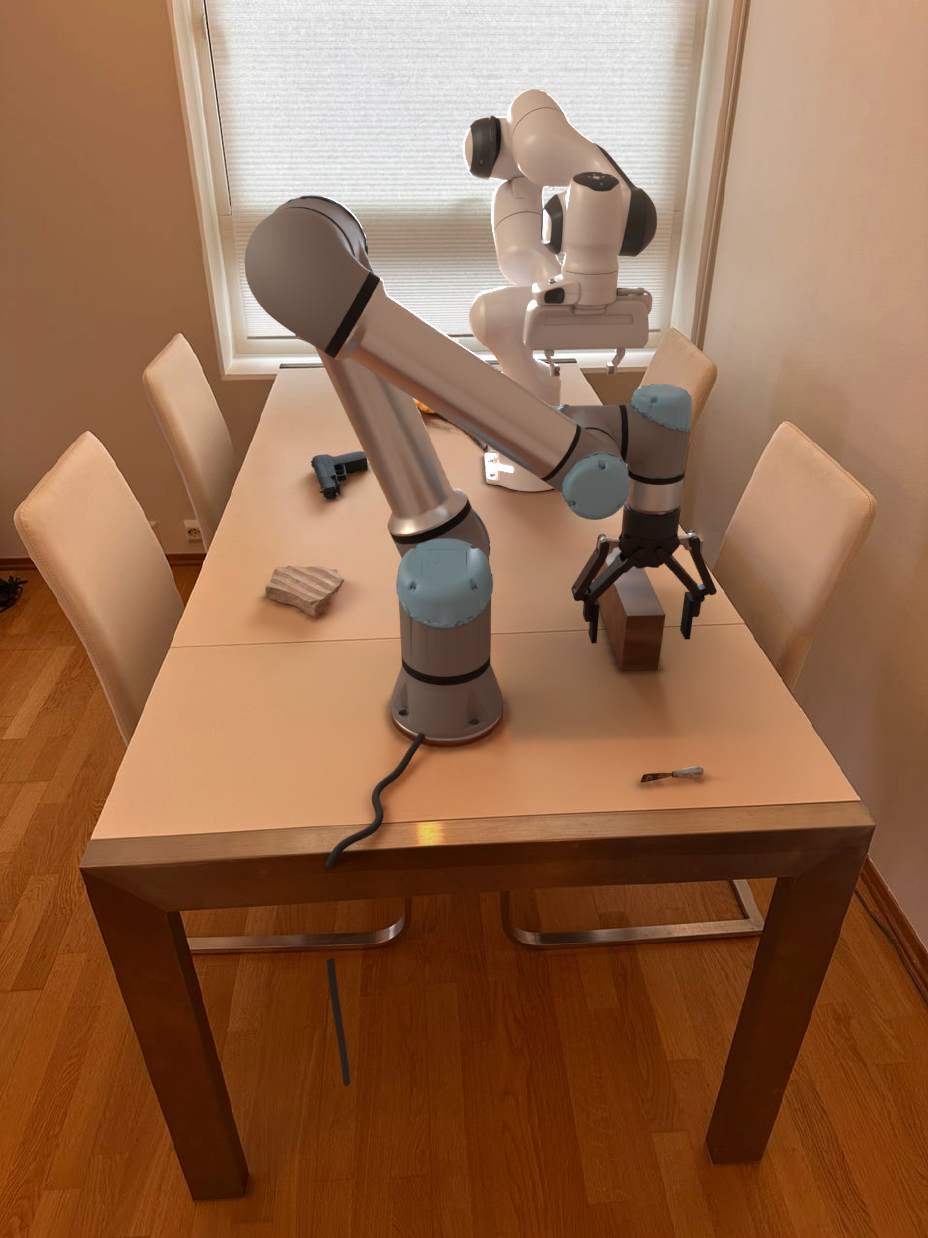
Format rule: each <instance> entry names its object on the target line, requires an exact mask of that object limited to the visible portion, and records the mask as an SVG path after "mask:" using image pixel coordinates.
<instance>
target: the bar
mask: <svg viewBox="0 0 928 1238" xmlns="http://www.w3.org/2000/svg"><path fill="white" fill-rule="evenodd" d="M620 552H621V551H620V549H619V548H615V549H614V550H613V551H612V553H611V554H608V556H607V558H606V561H605V562H604V564H603V566H602V567H601V569H600V570H599V572H598V574H597V575H596V577H595V578H594V580H595V579H596V578H597V577H598V576H599V575H600V574H601V573H602V572H603V571H604V570H605V569H606V568H607V567H608V566H609V565H610V564H611V563H612V562H613V561H614V560H615V557H616V556H617V555H618V554H619V553H620ZM626 560H627V559H626ZM626 560H625V561H626ZM594 580H593V581H594ZM651 582H652V581H650V578H649V576H648V574H647V572H646V570H645V568H639V569H637V568H636V567H634V566H633V567H632V568H631V569H630V570H629V571H628V572H627V573H623V574H622V575H621V576H620V577H619V578H618V579H617V580H616V581H615V582H614V583H613V584H612V585H611V586H610V587H609V588H608V589H607V590H606V591H605V592H604V593H603V594H602V595H601V596H600V597H599V598H598V602H599V605H600V607H599V612H600V613H601V616H602V619H603V622H604V625H605V628H606V631H607V634H608V637H609V639H610V642H611V645H612V648H613V651H614V654H615V656H616V660H617V662H618V666H619V668H620V671H621V672H629V671H631V672H632V671H658V670H659V666H660V660H661V659H660V658H661V652H662V645H663V635H664V630H665V621H666V613H665V611H664V608H663V607H662V604H661V602H660V600H659V598H658V596H657V594H656V591H655V590H654V589H655V588H654V587H653V585H652V583H651Z"/></svg>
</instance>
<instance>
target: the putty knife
mask: <svg viewBox="0 0 928 1238" xmlns="http://www.w3.org/2000/svg"><path fill="white" fill-rule="evenodd" d="M704 772H705V771H704V768H702V767H701V766H697V765H695V766H688V767H683V768H679V769H675V770H673V771H671V772H653V773H652V772H651V773H650V772H649V773H644V774H642V776H641V779H640V783H642V784H645V783H648V782H653V781H659V780H665V779H668V778H673V779H674V778H675V779H693V778H694V779H695V778H700V777H702V776H703V775H704Z"/></svg>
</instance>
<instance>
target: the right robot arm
mask: <svg viewBox="0 0 928 1238" xmlns="http://www.w3.org/2000/svg"><path fill="white" fill-rule="evenodd" d="M462 148H463V149H462V151H463V158H464V161H465V162H464V163H465V165H466V169H467V171H468V172H469V173H470V175H471V176H472V177H475V178H477V179H481V180H485V181H486V180H487V181H488V180H489V179H493V180H499V181H502V182H501V183H499V185H497V187H496V188H495V190H494V192H493V194H492V199H491V200H492V201H491V227H492V235H493V242H494V248H495V254H496V260H497V266H498V269H499V272H500V274H501V275H502V276H503V277H504V279H506V280H507V282H509V283H510V284H512V285H514V286H501V287H497V288H493V289H489V290H484V291H481V292H479V293H477V295H476V296H475V297H474V299H473V301H472V303H471V305H470V307H469V313H468V322H469V323H468V324H469V327H470V330H471V333H472V335H473V337H474V338H475V339H476V341H477V342H478V343H479V344H481V345H482V346H483V347H484V348H486V349H487V350H488V351H489V352H490V353H491V354H492V355H493V356H494V358H495V359H496V361H497V362H498V364H499V366H500V368H501V372H502V373H504V374H505V375H507V376H508V377H509V378H511V379H512V380H514V381H515V382H517V383H518V384H520V385H521V386H523V387H524V388H526V389H527V390H529V391H530V392H532V393H533V394H535V395H536V396H538V397H539V398H541V399H542V400H543V401H545V402H546V403H548V404H549V405H551V406H561V397H562V396H561V395H562V379H561V372H560V371H561V365H560V363H555V362H554V360H553V359H552V357H554V356H555V351H562V350H563V351H564V350H565V351H566V350H567V351H568V350H570V351H571V350H613V351H614V353H615V355H614V357H613V359H612V360H611V362H606V365H605V367H606V369H605V374H606V376H617V372H618V366H619V365H620V363H621V361H623V359H624V358H625V356H626V349H644V348H645V347H646V345H647V344H648V343H649V333H650V329H649V328H650V325H649V315H650V314H651V311H652V309H653V295H652V294H651V292H650V291H648V290H647V289H645V288H644V287H634V288H632V287H618V279H619V269H620V268H619V260H618V257H633V258H635V257H637V256H638V255H640V254H641V253H642V252H643V251H644V250H646V249H647V247H648V246H649V245H650V244H651V242H652V241H653V240H654V239H655V236H656V233H657V226H658V215H657V209H656V205H655V203H654V201H653V200H652V199H651V197H650V195H649V194H648V193H647V192H646V191H645V190H644V189H642V188H640V187H638V186H636V185H635V184H634V183H633V181H632V180H631V179H630V178H629V176H627V174H626V173H625V172H624V171H623V169H622V168H621V167H620V166H619V164H618V163H617V162H616V161H615V159H614V158H613V157H612V156H611V155H610V154H609V152H608V151H606V149H605V148H603V147H602V146H600V145H599V144H597V143H596V142H594V141H592V140H591V139H589V138H588V137H586V136H585V135H583V134H582V133H581V132H580V131H579V130H578V129H577V128H575V127H574V126H573V124H572V122H570V121H569V118H568V117H567V115H566V113H565V111H564V110H563V108H562V106H561V105H560V104H559V103H558V101H556V99H554V97H552V96H551V95H550V94H549V92H546V91H544V90H542V89H538V88H531V89H527V90H524V91H522V92H521V93H519V94H518V95H517V96H515V98H514V99H513V100H512V101H511V104H510V105H509V107H508V110H507V115H506V116H494V115H488V116H485V117H480V118H478V119H474V120H473V121H472V122H471V123H470V124H469V126H468V127H467V129H466V133H465V137H464V139H463V145H462ZM545 187H546V188H547V189H548V190H549V191H553V190H555V189H556V188H558V189H559V188H560V189H566V190H564V191H562V192H560V193H555V194H553V195H552V197H550V198H549V199H548V201H547V202H546V203H545V204H544V198H543V196H544V190H545V189H544V188H545ZM558 256H560V257H563V261H562V262H560V260H559V258H558ZM534 351H543V354H544V356H545V358H546V361H547V362H548V363H546V362H545V361H543V360H540V359H537V358H535V357H534ZM417 408H418V407H417ZM418 410H421V409H420V408H418ZM430 414H432V415H435V416H437V417H440V418H442V419H444V420H447V419H446V418H444V417H442V416H441V415H439V414H438V413H432V412H431V413H430ZM472 438H473V439H474V440H475V441H476V442H477V444H478V446H479V447H480V448H481V449H483V450H484V451H486V450H487V452H485V454H484V458H483V459H484V460H483V462H484V472H485V473H484V474H485V482H486V484H490V485H495V486H501V487H504V488H507V489H510V490H513V491H514V490H515V491H519V492H544V491H549V490H552V489H554V488H553V487H551V486H550V485H548V484H547V483H546V482H544V481H543V480H541V479H539V478H538V477H536V476H535V475H533V474H532V473H530V472H528V471H527V470H525V469H524V468H522V467H521V466H519V465H518V464H516V463H514V462H513V461H511V460H510V459H508V458H507V457H505V456H503V455H502V454H500V453H499V452H497V451H496V450H494V449H493V448H491V447H489V446H488V445H486V444H485V445H484V443H483V442H482V441H480V440H478V439H477V438H475V437H474V436H472Z"/></svg>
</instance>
